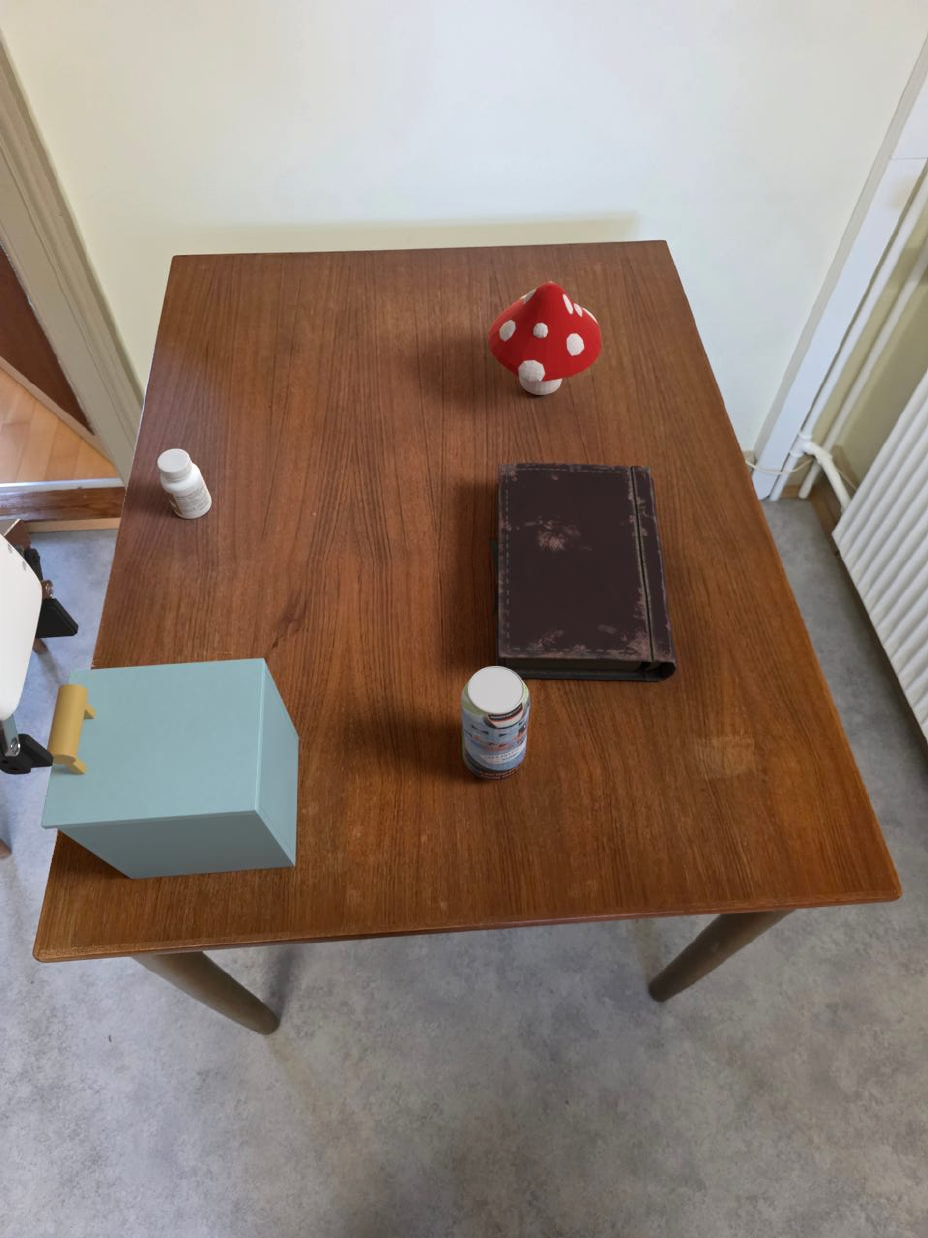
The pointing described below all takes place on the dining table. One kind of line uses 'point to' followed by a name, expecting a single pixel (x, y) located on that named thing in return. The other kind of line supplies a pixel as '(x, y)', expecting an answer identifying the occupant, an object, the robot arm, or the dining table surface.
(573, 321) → the decorative mushroom
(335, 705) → the dining table surface
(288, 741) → the chest
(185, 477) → the pill bottle
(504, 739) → the beverage can
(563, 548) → the diary
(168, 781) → the lid
